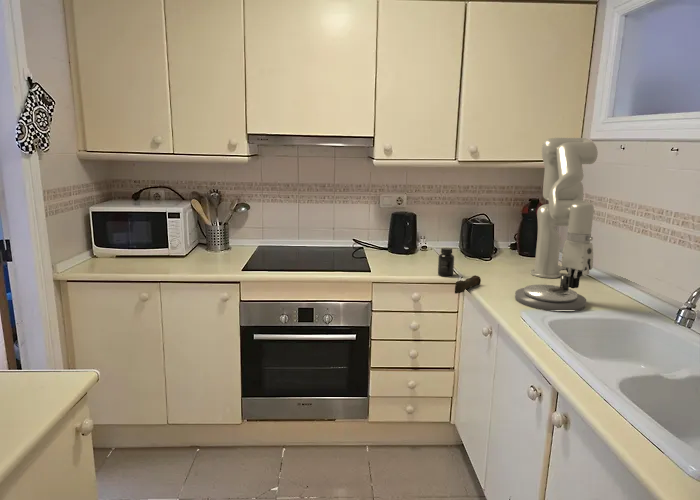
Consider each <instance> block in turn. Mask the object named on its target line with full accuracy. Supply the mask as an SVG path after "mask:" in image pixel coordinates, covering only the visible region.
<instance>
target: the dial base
mask: <svg viewBox="0 0 700 500" xmlns="http://www.w3.org/2000/svg"><path fill="white" fill-rule="evenodd" d="M524 288H525V287H522V288H518V289H517V290H516V291H515V293H514V294H515V295H514V299H515V301H516V302H518V303H519V304H521V305H523V306H526V307H529V308H533V309H536V310H541V309H544V310H543V311H547V310H579V311H581V310H584V309H585V308H586V307H587V299H586V297H584V296H583V295H581V294H579V293H577V294H578V296H577V300H575V301H573V302H566V303H556V302H546V301H541V300H536V299H533V298H530V297H528V296H526V295H525V294H524Z"/></svg>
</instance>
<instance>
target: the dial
mask: <svg viewBox="0 0 700 500" xmlns="http://www.w3.org/2000/svg"><path fill="white" fill-rule="evenodd" d="M569 278H570V277H569V276H568V274H561V276H560V282H559V285H554V284H530V285H527V286H524V287H523V288H524V294H525V295H526V296H528V297H530V298H533V299H536V300H541V301H546V302H556V303H566V302H573V301H575V300H577V296H578V294H579V293H577V291H575V290H573V289H572V288H571V289H570V287H569Z"/></svg>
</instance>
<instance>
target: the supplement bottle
mask: <svg viewBox="0 0 700 500" xmlns="http://www.w3.org/2000/svg"><path fill="white" fill-rule="evenodd" d="M437 263H438V264H437V265H438V267H437V275H438V276H440V277H444V278H447V277H448V278H449V277H453V276H454V273H455V272H454V270H455V256H454V255H453V248H451V247H441V249H440V254H439V255H438V262H437Z"/></svg>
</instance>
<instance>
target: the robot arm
mask: <svg viewBox="0 0 700 500" xmlns="http://www.w3.org/2000/svg"><path fill="white" fill-rule="evenodd" d="M541 157H542V162H543V166H544V173H543V174H544V175H543V184H542V185H543V187H542V197H543V199H544V200H546V201H548V203H547V204H542V205H541V206H539V207H538V209H537V211H536V212H537V213H536V217H537V236H536V237H537V240H536V248H535V257H534V258H535V259H534V260H535V261H534V269H531V270H530V275H532V276H534V277H539V278H544V279H546V278H547V279H555V278H561V275H562V273H561V271H566V272H567V275H568V276H569V277H570V278H569V289H570V288H571V289H578V288H579V287H580V280H581V279H580V278H582V277H583V276H587V275H590V271H591V270H593V267H594V264H593V263H594V246H593V240H594V237H593V236H592V230H593V229H592V227H593V219H594V212H595V210H594V209H595V207H594V205H593V204H592V203H590V202H589V201H587V200H584V184H583V183H582V180H583V179H584V168H583V165H593V164H594V163H595V162H596V161H597V159H598V147H597V144H595V143H594V142H593V141H592V140H590V139H588V138H586V137H554V138H553V137H552V138H548V139H545V140H544V141H543V143H542V146H541ZM556 227H567V235H566V237H567V238H566V240H565V242H564V244H563V247H562V248H563V249H562V254H561V260H560V259H559V258H560V251H561V249H560V248H561V234H560V232H559V231H558V230H557V229H556ZM559 261H560V262H561V265H560V264H559Z"/></svg>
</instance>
